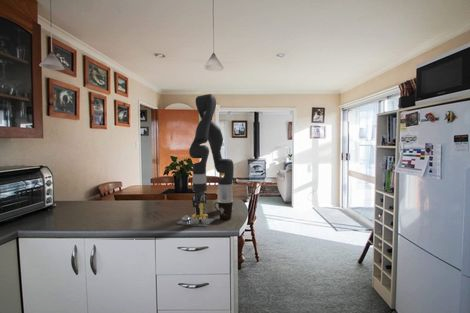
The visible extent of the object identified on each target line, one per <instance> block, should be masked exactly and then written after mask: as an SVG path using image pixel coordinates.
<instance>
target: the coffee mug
mask: <svg viewBox="0 0 470 313" xmlns="http://www.w3.org/2000/svg"><path fill="white" fill-rule="evenodd" d="M213 204H214V205H213V206H214V208H215V211H217V212H218V213H219V220H220V221H230V220H231V219H232V215H233V214H232V212H233V210H232V205H233V204H234V200H233V201H232V200H220V201H218V200H217V201H216V202H215V203H213ZM216 205H218V207H219V210H218V208H217V207H216Z"/></svg>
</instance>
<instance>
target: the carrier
mask: <svg viewBox="0 0 470 313" xmlns="http://www.w3.org/2000/svg"><path fill="white" fill-rule="evenodd" d="M215 221H216V220H215V219H214V218H209V217H208V218H206V219H193V218H192V216H188V214H185V215H184V216H182V217H181V220H179V221H177V222H176V225H180V224H181V226H192V227H193V226H194V227H208V226H209V225H211V224H213V223H214V222H215Z"/></svg>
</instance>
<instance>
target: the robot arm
mask: <svg viewBox="0 0 470 313" xmlns="http://www.w3.org/2000/svg"><path fill="white" fill-rule="evenodd" d="M195 106H196V109H197V111H198V114H199V118H200V121H199V122H198V124H197V126H196V129H195V134H194V139H193V141H192V143H191V145H190V147H189V150H188V152H189V157H191V158H192V159H201V160H200V161H199V162H195V163H193V164H192V192H194V195H193V196H191V201H192V202H191V203H192V207H193V208H194V211H195V210H196V215H200V204H201V202H204V203H205V205H206V204H207V199H208V198H207V196H208V193H207V190H208V189H207V186H208V185H207V184H208V183H207V179H208V178H207V162H208V158H209V156H210V152H211V155H212V160H213V164H214V168H215V170H216V172H217V173H218V174H223V177H222V178H219V179H217V188H218V189H217V194H218V196H217V198H218V199H217V202H218V201H220V200H232V201H233V202H234V200H233V198H234V197H233V181H234V169H235V168H234V161H233V160H232V159H230V158H222V153H221V152H222V151H221V150H222V147H223V143H224V136H223V134H222V130H221V128H220V127H219V126H218V124H217V123H216V122H214V120H213V118H214V114H215V111H216V108H217V99H216V97H215V95H214V93H213V94H212V93H208V94H207V93H206V94H202V95H198V96H196V98H195ZM207 142H208V144H209V146H210V148H209V147H208V146H207V145H206V143H207ZM217 209H218V210H219V207H218V208H217ZM233 209H234V207H233V205H232V211H233Z"/></svg>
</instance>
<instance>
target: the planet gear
mask: <svg viewBox="0 0 470 313" xmlns="http://www.w3.org/2000/svg"><path fill="white" fill-rule="evenodd" d="M205 205H206V204H205V203H204V202H201V204H200V215H196V210H195V209H194V214H192V215H191V217H192V218H193V219H206V218H208V219H209V215H208V214H207V213H206V212H205V208H206V206H205Z"/></svg>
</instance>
